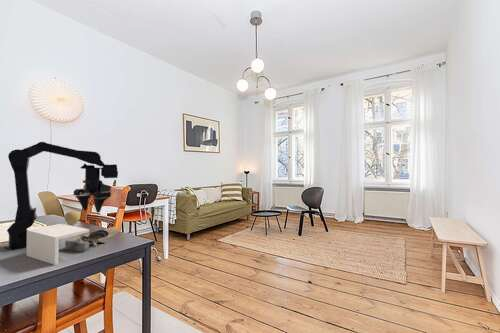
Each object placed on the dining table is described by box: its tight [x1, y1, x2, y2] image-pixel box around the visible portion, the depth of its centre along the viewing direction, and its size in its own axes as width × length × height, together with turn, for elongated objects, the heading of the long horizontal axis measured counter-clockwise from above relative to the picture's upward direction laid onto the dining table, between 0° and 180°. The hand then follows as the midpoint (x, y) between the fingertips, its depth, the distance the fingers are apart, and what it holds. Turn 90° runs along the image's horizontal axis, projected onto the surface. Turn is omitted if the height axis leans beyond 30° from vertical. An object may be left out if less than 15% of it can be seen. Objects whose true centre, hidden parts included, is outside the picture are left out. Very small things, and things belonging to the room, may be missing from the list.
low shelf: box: [25, 223, 90, 266], centre depth 92 cm, size 18×12×10 cm, turn 66°
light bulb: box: [64, 210, 81, 227], centre depth 124 cm, size 6×6×10 cm
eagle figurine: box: [79, 229, 109, 248], centre depth 103 cm, size 8×7×9 cm
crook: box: [64, 225, 119, 253], centre depth 109 cm, size 10×24×4 cm, turn 164°
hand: (91, 211), depth 115 cm, fingers open, 9 cm apart
